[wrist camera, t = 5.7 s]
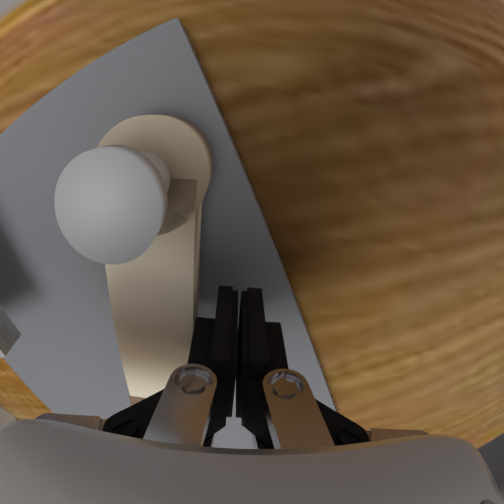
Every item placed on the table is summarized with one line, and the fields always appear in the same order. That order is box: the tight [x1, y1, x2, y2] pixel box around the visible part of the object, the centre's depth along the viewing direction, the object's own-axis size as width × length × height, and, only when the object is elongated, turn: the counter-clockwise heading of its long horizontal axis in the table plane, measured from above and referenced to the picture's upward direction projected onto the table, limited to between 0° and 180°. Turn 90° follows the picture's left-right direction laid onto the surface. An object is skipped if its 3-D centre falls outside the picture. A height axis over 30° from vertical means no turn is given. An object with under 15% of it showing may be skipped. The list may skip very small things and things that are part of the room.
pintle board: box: [0, 17, 337, 449], centre depth 12 cm, size 19×24×7 cm
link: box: [97, 115, 213, 406], centre depth 11 cm, size 14×4×2 cm, turn 174°
